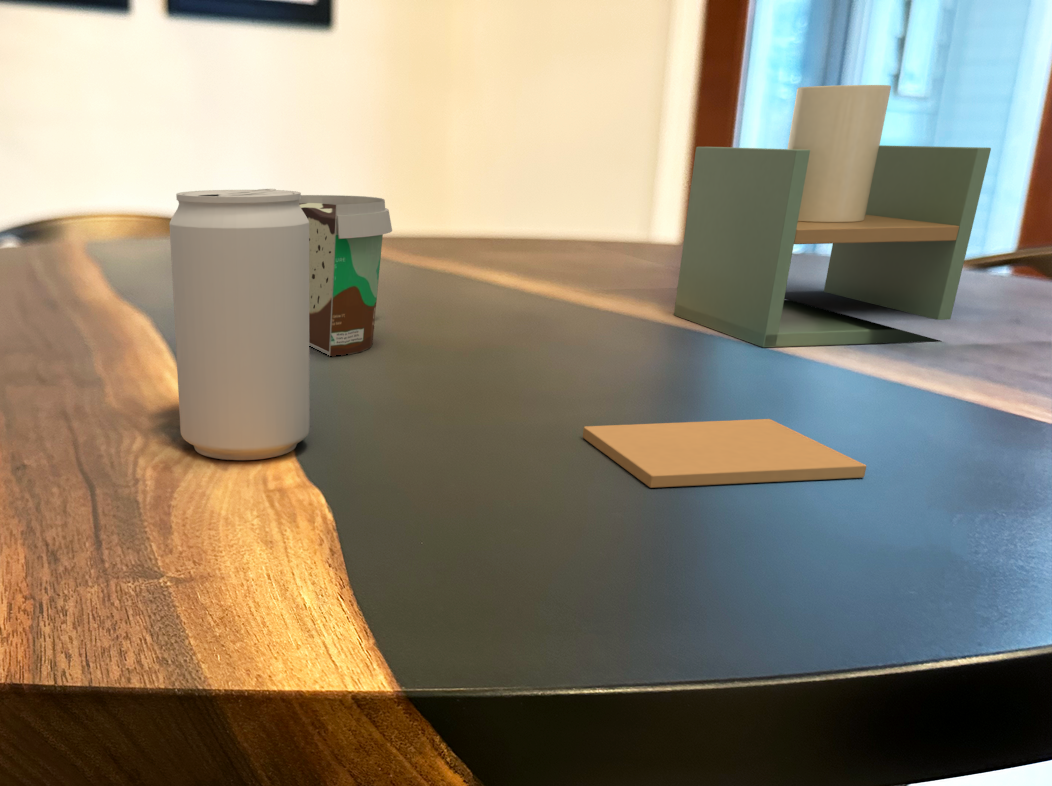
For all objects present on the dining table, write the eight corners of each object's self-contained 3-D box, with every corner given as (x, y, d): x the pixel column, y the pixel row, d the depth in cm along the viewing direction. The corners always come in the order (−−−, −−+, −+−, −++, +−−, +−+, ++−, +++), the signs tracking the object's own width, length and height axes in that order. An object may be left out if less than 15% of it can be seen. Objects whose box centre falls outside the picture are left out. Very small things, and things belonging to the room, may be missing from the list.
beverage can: (168, 436, 52) (152, 188, 48) (285, 423, 54) (281, 185, 50) (200, 471, 47) (187, 195, 42) (329, 456, 49) (330, 191, 44)
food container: (419, 353, 71) (425, 202, 67) (338, 360, 69) (339, 205, 65) (347, 324, 82) (348, 192, 78) (275, 330, 80) (273, 195, 76)
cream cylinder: (833, 215, 79) (856, 88, 75) (882, 221, 73) (910, 84, 70) (760, 216, 78) (781, 88, 75) (804, 223, 73) (829, 85, 69)
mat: (768, 429, 52) (770, 418, 52) (864, 478, 45) (867, 465, 45) (581, 437, 51) (583, 426, 51) (650, 488, 44) (651, 475, 44)
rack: (830, 310, 86) (862, 145, 81) (945, 341, 73) (992, 147, 68) (673, 314, 85) (696, 146, 80) (762, 347, 72) (796, 149, 67)
